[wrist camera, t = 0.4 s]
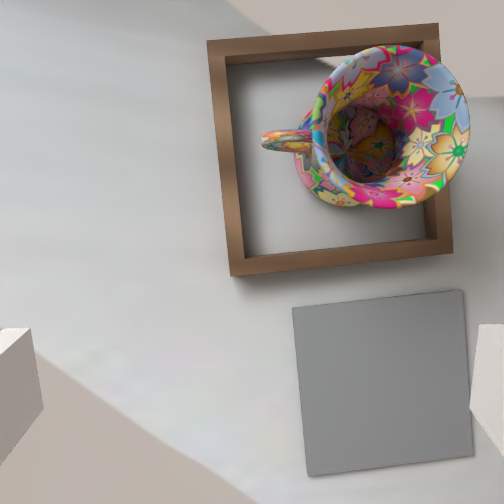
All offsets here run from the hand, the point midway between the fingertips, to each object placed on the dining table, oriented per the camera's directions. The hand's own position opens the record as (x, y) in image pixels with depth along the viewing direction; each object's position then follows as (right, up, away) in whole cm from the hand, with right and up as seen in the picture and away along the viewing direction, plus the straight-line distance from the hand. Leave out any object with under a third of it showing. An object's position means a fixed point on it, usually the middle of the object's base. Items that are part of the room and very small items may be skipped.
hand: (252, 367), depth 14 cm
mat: (+11, -7, +25) cm, 28 cm away
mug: (+6, +11, +24) cm, 27 cm away
